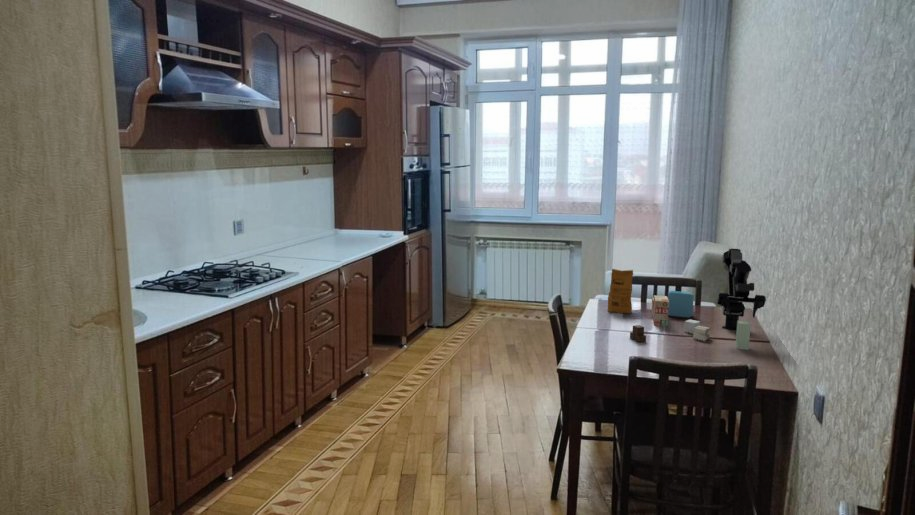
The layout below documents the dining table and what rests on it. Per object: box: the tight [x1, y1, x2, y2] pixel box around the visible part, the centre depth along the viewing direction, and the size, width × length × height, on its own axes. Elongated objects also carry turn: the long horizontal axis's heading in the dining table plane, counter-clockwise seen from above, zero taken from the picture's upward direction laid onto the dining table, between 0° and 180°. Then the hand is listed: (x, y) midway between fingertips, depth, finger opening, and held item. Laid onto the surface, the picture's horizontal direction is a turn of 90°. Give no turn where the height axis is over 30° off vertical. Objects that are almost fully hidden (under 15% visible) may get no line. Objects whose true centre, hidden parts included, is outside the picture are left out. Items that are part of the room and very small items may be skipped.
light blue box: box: [667, 290, 695, 319], centre depth 323 cm, size 12×4×12 cm, turn 66°
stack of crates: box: [629, 324, 647, 344], centre depth 280 cm, size 15×15×7 cm
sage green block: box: [734, 320, 752, 351], centre depth 269 cm, size 4×4×11 cm
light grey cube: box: [683, 319, 701, 335], centre depth 293 cm, size 5×5×5 cm
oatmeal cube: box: [692, 325, 711, 342], centre depth 282 cm, size 5×5×5 cm
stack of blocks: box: [651, 294, 669, 327], centre depth 313 cm, size 21×6×12 cm, turn 167°
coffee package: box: [607, 268, 634, 314], centre depth 330 cm, size 10×12×22 cm
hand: (742, 316), depth 273 cm, fingers open, 9 cm apart
